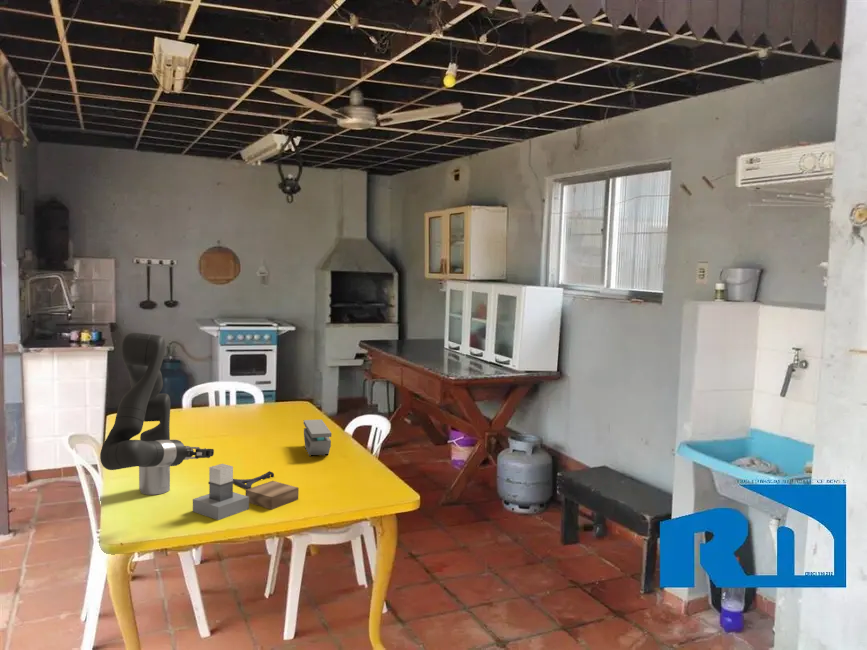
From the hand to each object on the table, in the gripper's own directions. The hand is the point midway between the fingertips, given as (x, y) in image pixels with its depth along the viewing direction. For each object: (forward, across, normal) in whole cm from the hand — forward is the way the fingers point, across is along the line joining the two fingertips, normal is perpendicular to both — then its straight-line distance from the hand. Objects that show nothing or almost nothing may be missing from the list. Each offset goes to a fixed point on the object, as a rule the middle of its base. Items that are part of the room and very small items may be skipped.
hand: (200, 451), depth 208 cm
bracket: (+40, +5, +12) cm, 42 cm away
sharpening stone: (+81, +3, +2) cm, 81 cm away
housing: (+10, -2, +14) cm, 17 cm away
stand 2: (+24, -12, +16) cm, 31 cm away
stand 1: (+10, -2, +18) cm, 21 cm away
